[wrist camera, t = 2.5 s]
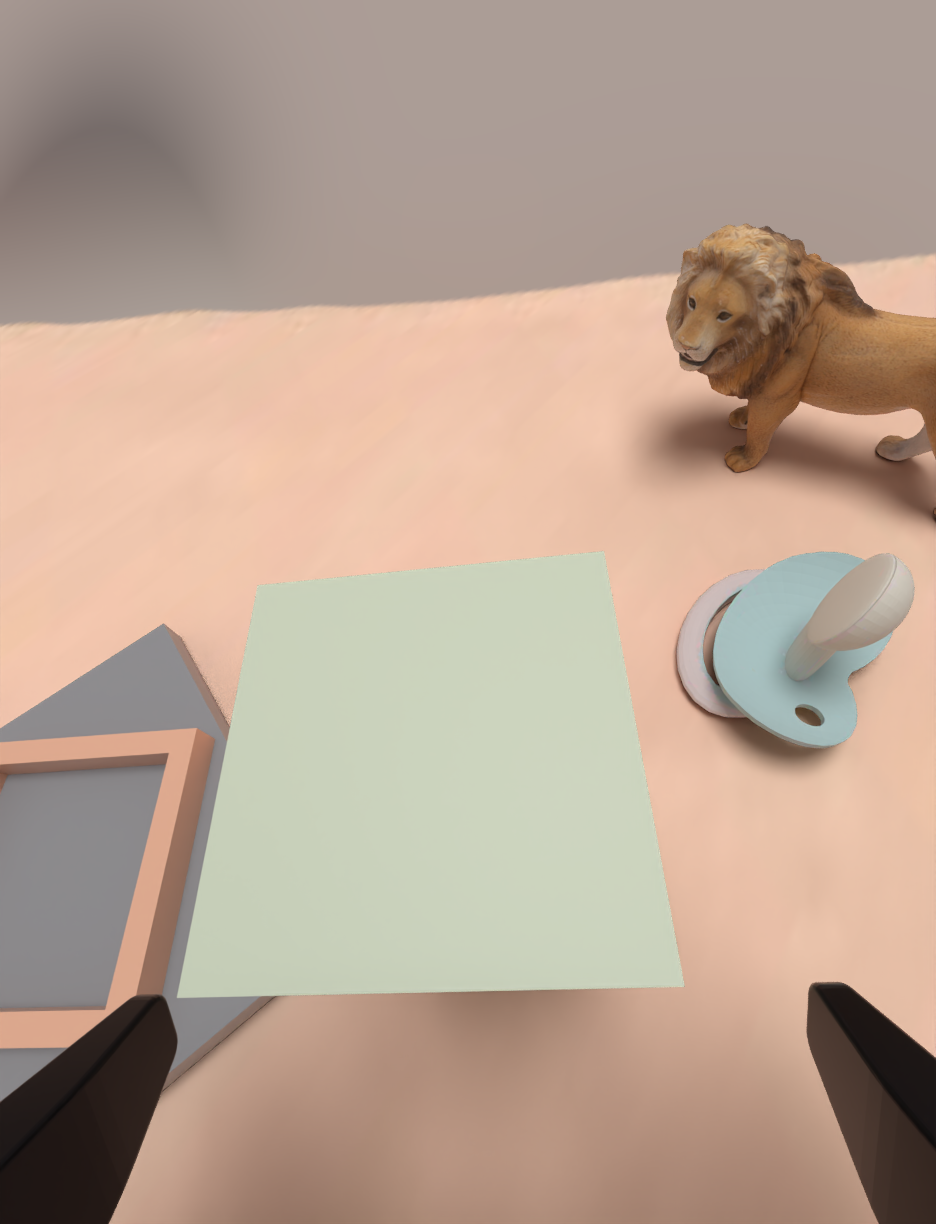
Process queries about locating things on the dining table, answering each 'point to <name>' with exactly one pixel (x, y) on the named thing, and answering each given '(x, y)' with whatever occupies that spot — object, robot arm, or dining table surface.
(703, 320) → the lion figurine
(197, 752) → the collar
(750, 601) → the pacifier
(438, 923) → the pillar
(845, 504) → the dining table surface
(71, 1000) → the baseplate
